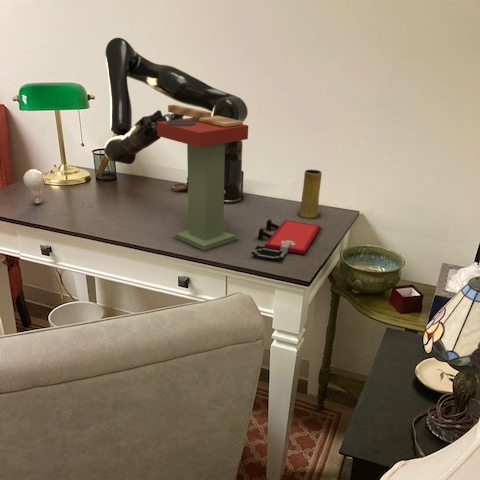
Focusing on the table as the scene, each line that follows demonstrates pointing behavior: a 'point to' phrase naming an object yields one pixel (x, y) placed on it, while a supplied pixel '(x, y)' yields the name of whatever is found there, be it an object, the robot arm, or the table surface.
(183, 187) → the compass
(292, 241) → the red board with handle
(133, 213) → the table surface
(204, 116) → the spatula
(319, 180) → the vase
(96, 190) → the table surface
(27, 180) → the lightbulb
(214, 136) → the pedestal side table
